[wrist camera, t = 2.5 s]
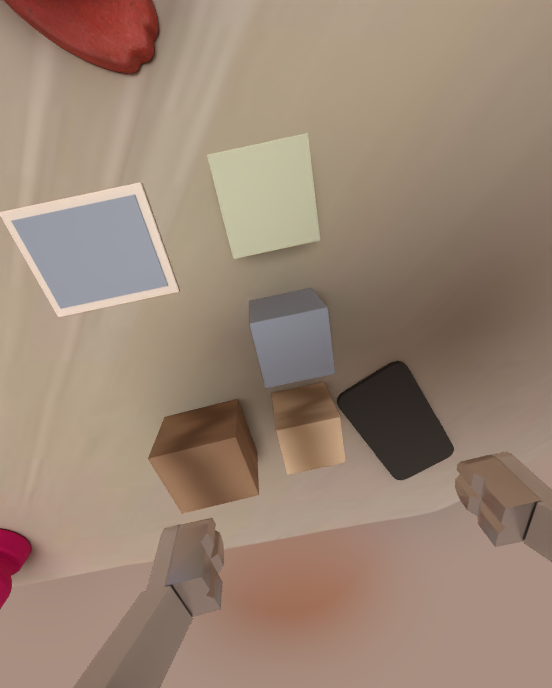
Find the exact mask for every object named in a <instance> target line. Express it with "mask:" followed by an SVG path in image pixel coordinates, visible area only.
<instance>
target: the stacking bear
mask: <svg viewBox="0 0 552 688" xmlns="http://www.w3.org/2000/svg"><path fill="white" fill-rule="evenodd" d="M4 1H5V2H6V3H7V4H8V5H9V6H10V7H11V8H12V9H13V10H14V11H15V12H16V13H17V14H18V15H20V16H21V17H22V18H23V19H24V20H25V21H27V22H28V23H29V24H30V25H31V26H32V27H34V28H35V29H36V30H38V31H39V32H40V33H42V34H43V35H44V36H45V37H47V38H48V39H50V40H51V41H53V42H54V43H56V44H57V45H59V46H60V47H62V48H63V49H65V50H67V51H68V52H70V53H72V54H74V55H76V56H78V57H80V58H81V59H83V60H85V61H88V62H90V63H93V64H95V65H98V66H100V67H103V68H106V69H109V70H113V71H117V72H123V73H134V72H136V71H137V70H139V68H140V65H141V64H142V63H146V62H148V61H150V59H151V58H152V57H153V55H154V41H155V39H156V37H157V33H158V18H157V14H156V10H155V7H154V4H153V2H152V0H4Z"/></svg>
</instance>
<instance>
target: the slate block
mask: <svg viewBox="0 0 552 688" xmlns="http://www.w3.org/2000/svg"><path fill="white" fill-rule="evenodd" d="M249 324H250V328H251V332H252V336H253V340H254V344H255V348H256V352H257V356H258V360H259V364H260V368H261V372H262V376H263V380H264V384H265V388H270V387H275V386H280V385H284V384H289V383H294V382H299V381H303V380H308V379H313V378H317V377H322V376H327V375H332V374H335V369H334V360H333V351H332V342H331V333H330V324H329V315H328V307H327V306H326V305H325V303H324V302H323V301H322V300H321V299H320V297H319V296H318V295H317V294H316V293H315V291H314V290H313V289H312V288H308V289H303V290H299V291H294V292H289V293H284V294H280V295H275V296H270V297H265V298H261V299H256V300H251V301H249Z"/></svg>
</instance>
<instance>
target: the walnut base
mask: <svg viewBox="0 0 552 688" xmlns="http://www.w3.org/2000/svg"><path fill="white" fill-rule="evenodd" d="M148 460H149V461H150V463H151V465H152V466H153V468H154V469H155V471H156V473H157V474H158V476H159V477H160V479H161V481H162V482H163V484H164V485H165V487H166V489H167V490H168V492H169V493H170V495H171V497H172V498H173V500H174V501H175V503H176V505H177V506H178V508H179V509H180V511H181V513H186V512H190V511H195V510H199V509H203V508H207V507H211V506H215V505H219V504H224V503H228V502H232V501H236V500H240V499H244V498H248V497H252V496H257V495H259V485H258V459H257V450H256V447H255V445H254V442H253V439H252V437H251V434H250V431H249V428H248V426H247V423H246V420H245V417H244V415H243V412H242V409H241V407H240V404H239V401H238V399H235V400H231V401H227V402H223V403H219V404H215V405H211V406H207V407H203V408H199V409H195V410H191V411H187V412H183V413H179V414H175V415H171V416H167V417H165V418H164V420H163V423H162V425H161V428H160V430H159V433H158V435H157V438H156V440H155V443H154V445H153V448H152V450H151V453H150V455H149V457H148Z"/></svg>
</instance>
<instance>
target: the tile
mask: <svg viewBox="0 0 552 688" xmlns="http://www.w3.org/2000/svg"><path fill="white" fill-rule="evenodd" d="M0 216H1V218H2V219H3V221H4V223H5V225H6V226H7V228H8V230H9V232H10V233H11V235H12V237H13V239H14V240H15V242H16V244H17V246H18V247H19V249H20V251H21V253H22V254H23V256H24V258H25V260H26V261H27V263H28V265H29V267H30V268H31V270H32V272H33V274H34V275H35V277H36V279H37V281H38V282H39V284H40V286H41V288H42V289H43V291H44V293H45V295H46V296H47V298H48V300H49V302H50V303H51V305H52V307H53V309H54V310H55V312H56V314H57V315H58V317H62V316H66V315H71V314H76V313H81V312H85V311H90V310H95V309H99V308H104V307H109V306H113V305H118V304H123V303H128V302H132V301H137V300H142V299H146V298H151V297H156V296H160V295H165V294H170V293H175V292H179V291H180V290H179V288H178V285H177V282H176V279H175V276H174V273H173V271H172V268H171V265H170V262H169V259H168V256H167V253H166V251H165V248H164V245H163V242H162V239H161V236H160V234H159V231H158V228H157V225H156V222H155V219H154V216H153V214H152V211H151V208H150V205H149V202H148V199H147V197H146V194H145V191H144V188H143V185H142V183H141V182H139V183H135V184H130V185H125V186H121V187H116V188H111V189H107V190H102V191H97V192H93V193H88V194H83V195H78V196H74V197H69V198H64V199H60V200H55V201H50V202H46V203H41V204H36V205H32V206H27V207H22V208H17V209H13V210H8V211H3V212H0Z"/></svg>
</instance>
